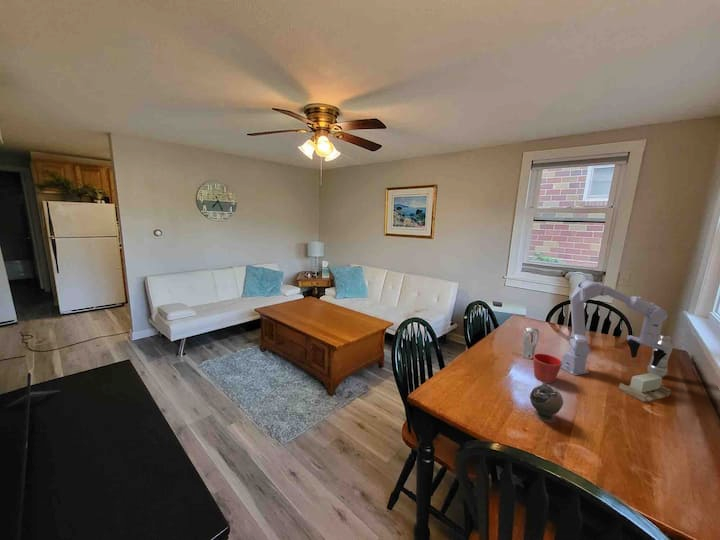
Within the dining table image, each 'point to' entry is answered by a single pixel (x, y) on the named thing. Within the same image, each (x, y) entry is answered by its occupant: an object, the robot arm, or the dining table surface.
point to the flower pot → (546, 367)
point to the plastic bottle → (662, 365)
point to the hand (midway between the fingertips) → (643, 361)
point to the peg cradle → (645, 393)
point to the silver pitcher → (529, 342)
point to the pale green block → (646, 382)
